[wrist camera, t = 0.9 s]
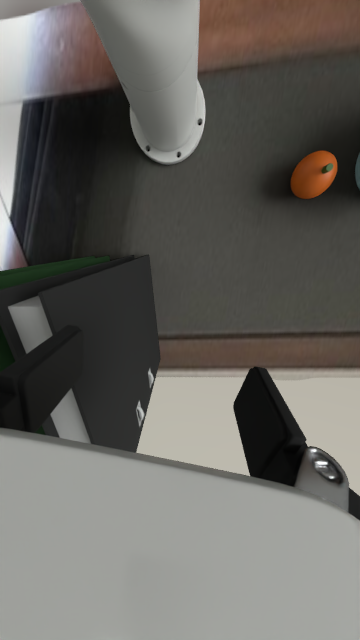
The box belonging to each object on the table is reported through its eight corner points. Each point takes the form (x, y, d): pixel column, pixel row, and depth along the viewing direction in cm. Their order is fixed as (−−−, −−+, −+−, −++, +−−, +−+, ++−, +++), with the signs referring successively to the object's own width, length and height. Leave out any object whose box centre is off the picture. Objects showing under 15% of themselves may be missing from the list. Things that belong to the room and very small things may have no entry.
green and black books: (89, 256, 42) (-151, 294, 12) (155, 254, 41) (64, 292, 12) (110, 357, 52) (7, 507, 23) (162, 358, 52) (125, 515, 22)
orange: (281, 169, 34) (304, 151, 27) (319, 153, 33) (353, 129, 26) (286, 207, 36) (308, 199, 29) (322, 193, 35) (354, 182, 28)
